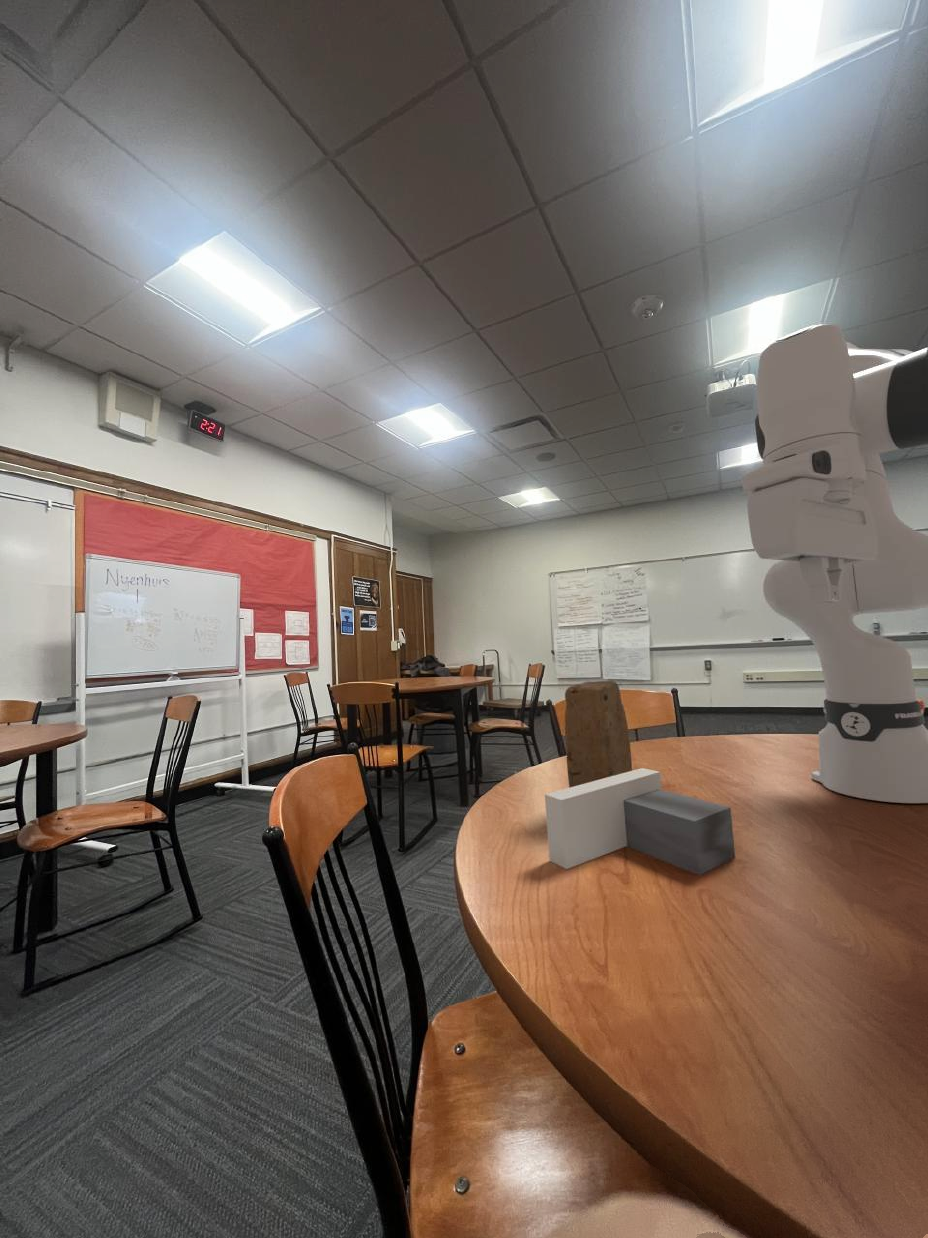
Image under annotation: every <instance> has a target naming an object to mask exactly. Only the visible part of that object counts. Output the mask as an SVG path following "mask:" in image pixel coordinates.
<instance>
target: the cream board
mask: <svg viewBox="0 0 928 1238" xmlns="http://www.w3.org/2000/svg"><path fill="white" fill-rule="evenodd" d="M662 788H663V787H662V778H661V771H657V770H654V769H649V768H644V767H641V768H638V769H633V770H632V771H629V772H626V773H622V774H618V775H615V776H611V777H607V778H604V779H600V780H596V781H593V782H589V783H585V784H581V785H578V786H574V787H570V788H569V787H567V788H564V789H559V790H556V791H552V792H550V793H546V794H544V802H545V814H546V816H545V817H546V829H547V840H548V854H549V855H548V856H549V861H550V862H552V863H553V864H556V865H557V866H559V867H561V868H563V869H565V870H568V869H571V868H574V867H576V866H579V865H582V864H585V863H586V862H590V861H591V860H595V859H597V858H599V857H602V856H604V855H605V856H606V855H607V854H609V853H612V852H615V851H618V850H620V849H623V848H626V847H627V837H626V825H625V812H624V800H626V799H629V798H633V797H636V796H639V795H642V794H645V793H649V792H652V791H655V790H658V789H659V790H663V789H662Z"/></svg>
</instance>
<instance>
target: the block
mask: <svg viewBox="0 0 928 1238" xmlns="http://www.w3.org/2000/svg"><path fill="white" fill-rule="evenodd" d="M564 700H565V711H564V725H565V726H564V735H565V736H564V737H565V749H566V751H565V752H566V768H567V780H568V788H570V787H574V786H578V785H581V784H585V783H589V782H593V781H596V780H600V779H604V778H607V777H611V776H615V775H618V774H622V773H626V772H629V771H633V770H632V769H633V765H632V751H631V741H630V734H629V733H630V732H629V726H628V721H627V716H626V711H625V708H624V704H623V703H622V697H621V691H620V686H619V684H618V682H616V681H614V680H599V681H597V680H596V681H584V682H582V683H576V684H573V685H571V686H570V685H569V687H567V689H566V690H565V692H564Z"/></svg>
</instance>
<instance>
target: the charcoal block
mask: <svg viewBox="0 0 928 1238" xmlns="http://www.w3.org/2000/svg"><path fill="white" fill-rule="evenodd" d="M624 812H625V825H626V837H627V846H626V847H628V848H630V849H633V850H635V851H638V852H640V853H643V854H645V855H647V856H650V857H653V858H655V859H658V860H659V861H662V862H666V863H668V864H670V865H673V866H675V867H677V868H680V869H683V870H685V871H687V872H690V873H693V874H694V875H695V874H696V875H698V876H701V875H702V874H704V873H706V872H708V871H711V870H712V869H714V868H717V867H718V866H721V865H722V864H725V863H727V862H730V861H731V860H733V859H735V858H736V852H735V843H734V842H735V840H734V833H733V832H734V831H733V821H732V820H733V819H732V807H729V806H727V805H726V806H725V805H722V804H719V803H716V802H715V803H714V802H711V801H707V800H702V799H698V798H695V797H691V796H687V795H683V794H679V793H675V792H670V791H666V790H663V789H662V790H659V789H658V790H655V791H652V792H649V793H645V794H642V795H639V796H636V797H633V798H629V799H626V800H624Z"/></svg>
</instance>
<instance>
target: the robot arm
mask: <svg viewBox="0 0 928 1238" xmlns="http://www.w3.org/2000/svg"><path fill="white" fill-rule="evenodd" d="M756 388H757V390H756V391H757V392H756V393H757V395H756V396H757V398H756V399H757V414H756V417H755V418H754V424H755V425H754V426H755V436H756V445H757V450H758V453H759V456H760V458H761V460H762V464H763V465H762V466H758V467H756V468H755V469H751V470H749V471H746V472H744V473H743V474H742V476H741V484H742V485H741V487H742V489H743V490H742V491H743V492H745V494H749V495H748V497H747V517H748V524H749V525H748V526H749V533H750V538H751V544H752V547H753V549H754V550H755V551H754V552H755V553H756V554H757V556H758V557H759V559H762V560H777V561H779V562H776V563H775V562H774V564H773V565H771V567H770V568H769V569H768V571H767V573H766V574H765V577H764V579H763V583H762V584H763V585H762V587H763V589H762V590H763V596H764V598H765V601H766V604H768V606H769V607H770V608H771V609H772V610H773V612H775V613H776V614H777V615H779V616H781V617H783V618H785V619H787V620H789V621H790V622H792V623H793V624H794V625H796V627H798V628H800V630H802V631H803V632H804V633H805V634H806V636H807V637H808V638H809V640H810V641H811V642H812V644H813V646H814V648H815V649H816V652H817V655H818V658H819V661H820V667H821V669H822V675H823V679H824V680H823V681H824V682H823V683H824V689H825V695H826V696H825V697H826V698H825V699H824V700H823V713H824V720H825V721H826V722H827V724H826V726H825V727H824V728H822V729H821V730H820V731H819V732H818V736H817V737H818V740H817V741H818V766H819V767H818V769H819V770H816V771H815V770H814V771H812V772H811V779H812V780H814V781H816V782H819V783H821V784H822V785H823V786H824V787H825V788H827V789H828V790H830V791H833V792H835V793H838V794H841V795H842V794H843V795H845V796H849V797H854V798H858V799H862V800H863V799H865V800H871V801H876V802H877V801H878V802H887V803H900V804H928V729H927V728H926V727H925V725H924V724H925V723H926V721H925V717H924V714H925V713H924V712H925V709H926V706H925V702H924V700H923V699H917V698H916V697H917V696H916V691H915V683H914V682H915V681H914V673H913V665H912V664H913V663H912V658H911V655H910V653H909V650H907V649H906V648H905V647H904V646H903V645H902V644H901V643H898V642H896V641H894V640H892V639H889V638H887V637H884V636H881V635H878V634H875V633H871V632H867V631H864V630H862V629H860V628H859V627H858V626H857V625H856V623H855V622H854V617H855V616H858V615H859V616H860V615H864V614H877V613H879V614H880V613H892V612H894V613H895V612H906V611H915V610H920V609H925V608H928V534H926V533H922V532H920V531H918V530H916V529H914V528H913V527H910V526H908V525H907V524H905V523H904V522H903V521H902V520H901V519H900V518H899V517H898V516H897V514H896V513H895V509H894V507H893V504H892V501H891V500H892V499H891V496H890V490H889V484H888V479H887V474H886V470H885V468H884V465H883V461H882V460H881V456H880V454H882V453H886V452H892V451H894V450H899V449H901V450H904V449H909V448H913V447H914V448H915V447H922V446H926V445H928V347H925V348H922V349H920V350H917V351H911V350H908V349H902V348H898V349H897V348H886V349H881V348H860V347H858V346H856V345H855V344H853V343H851V342H848V341H846V339H845V336H844V334H843V330H842V329H841V327H840V325H838V324H834V323H820V324H817V325H811V326H808V327H805V328H801V329H799V330H796V331H793V332H792V333H790V334H787V335H785V336H783V337H781V338H779V339H777V340H775V341H774V342H773V343H771V344H769V345H768V346H767V347H766V348H765V349H764V350H763V351H762V353H761V354H760V355H759V360H758V370H757V387H756Z"/></svg>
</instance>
